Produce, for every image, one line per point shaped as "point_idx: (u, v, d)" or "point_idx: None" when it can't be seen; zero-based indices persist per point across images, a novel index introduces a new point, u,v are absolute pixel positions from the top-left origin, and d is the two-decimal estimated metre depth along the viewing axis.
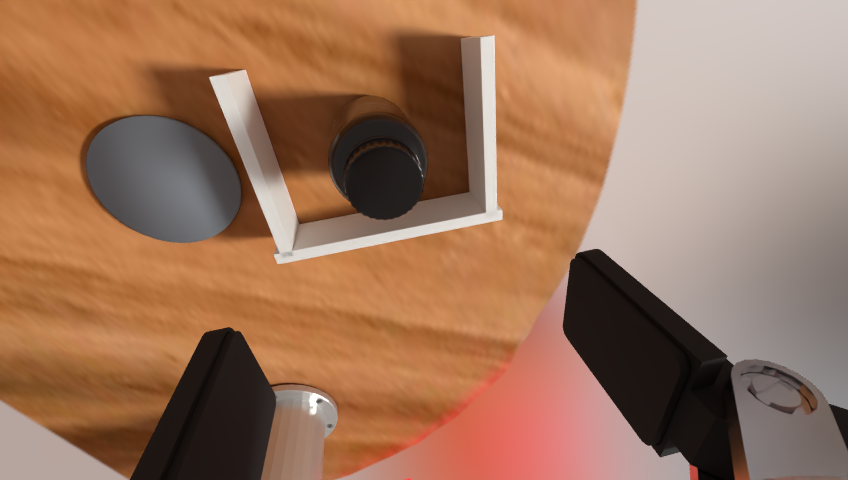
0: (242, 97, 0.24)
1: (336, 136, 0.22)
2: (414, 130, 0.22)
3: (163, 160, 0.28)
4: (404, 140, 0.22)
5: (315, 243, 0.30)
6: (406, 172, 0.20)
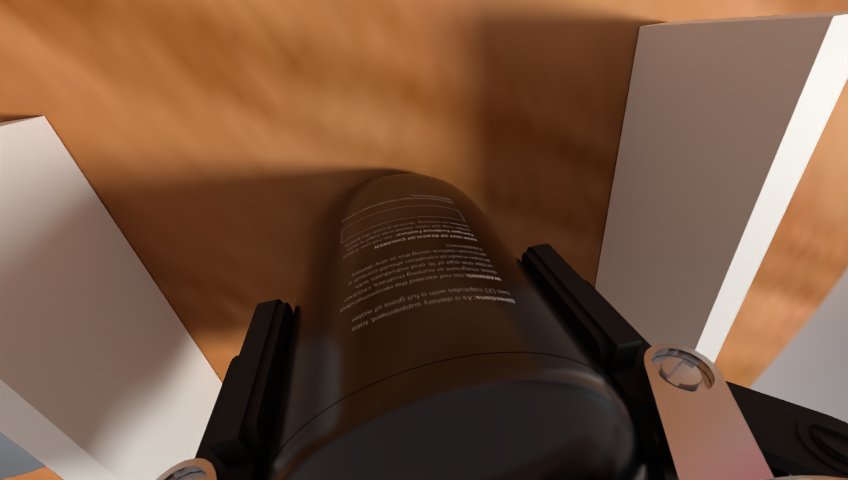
0: None
1: (283, 479, 0.05)
2: (627, 414, 0.05)
3: None
4: None
5: None
6: None
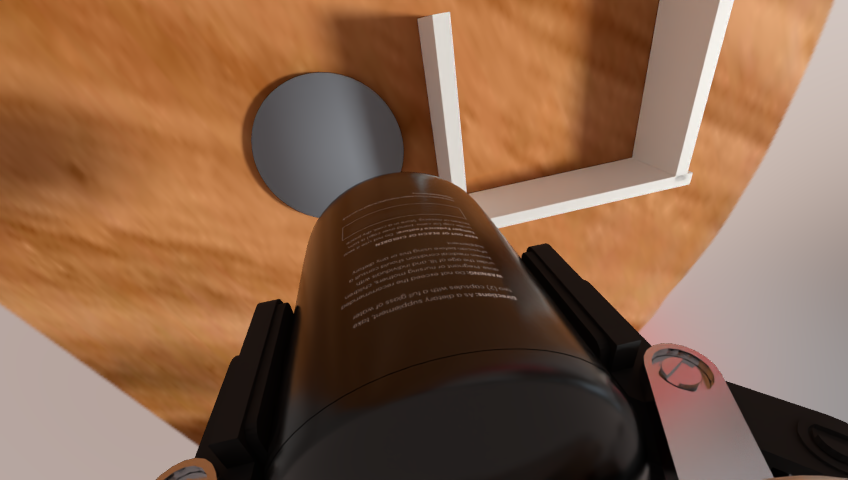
0: None
1: (284, 476, 0.05)
2: (629, 411, 0.05)
3: (331, 124, 0.25)
4: None
5: (491, 214, 0.27)
6: None
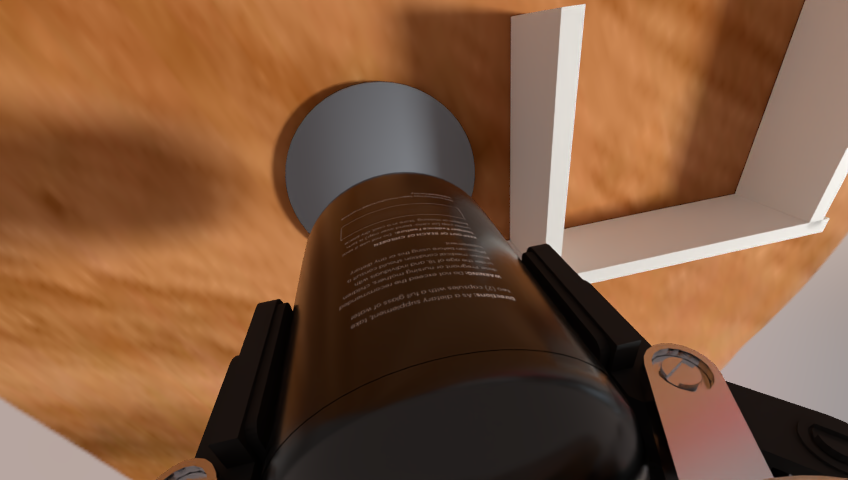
0: None
1: (281, 478, 0.05)
2: (628, 413, 0.05)
3: (389, 148, 0.19)
4: None
5: (584, 266, 0.21)
6: None
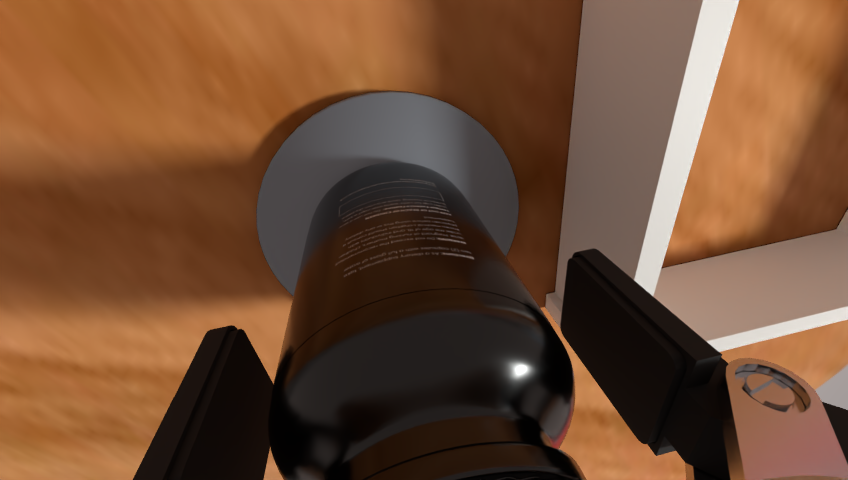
0: None
1: (289, 378, 0.06)
2: (553, 341, 0.07)
3: None
4: (532, 401, 0.06)
5: None
6: None
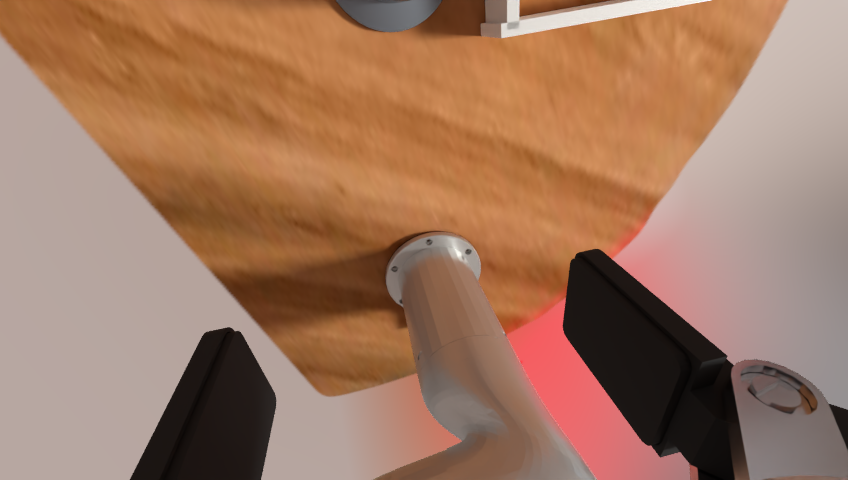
0: None
1: None
2: None
3: None
4: None
5: (538, 16, 0.28)
6: None
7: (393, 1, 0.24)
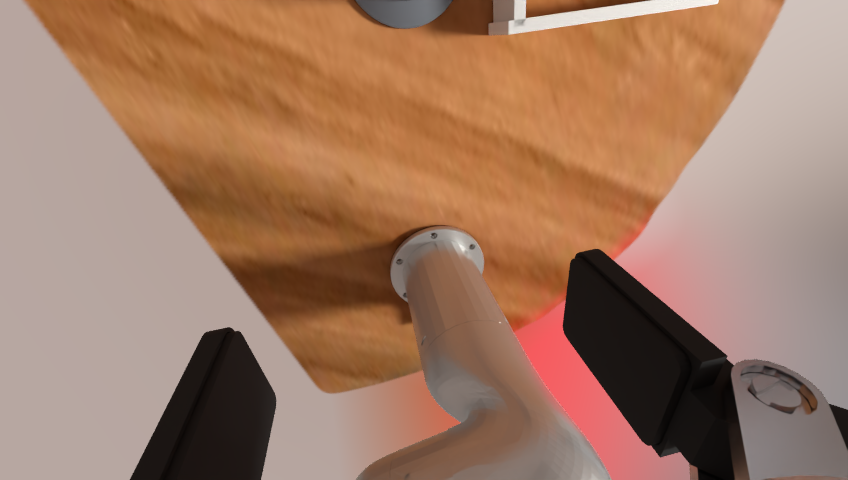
0: None
1: None
2: None
3: None
4: None
5: None
6: None
7: None
